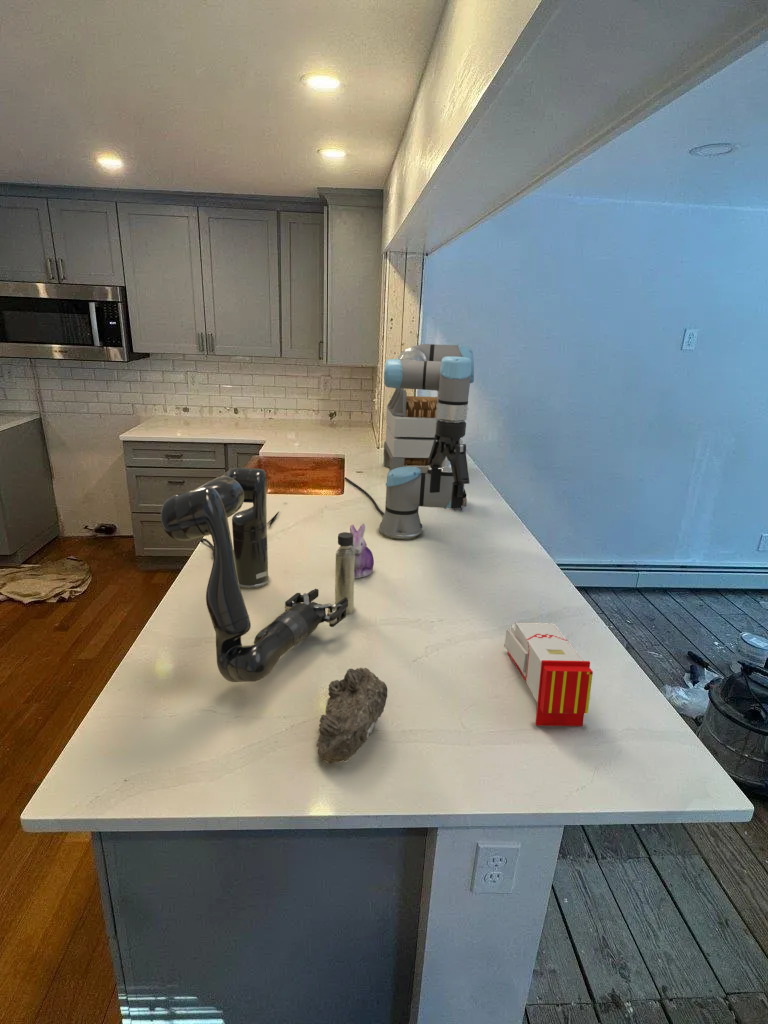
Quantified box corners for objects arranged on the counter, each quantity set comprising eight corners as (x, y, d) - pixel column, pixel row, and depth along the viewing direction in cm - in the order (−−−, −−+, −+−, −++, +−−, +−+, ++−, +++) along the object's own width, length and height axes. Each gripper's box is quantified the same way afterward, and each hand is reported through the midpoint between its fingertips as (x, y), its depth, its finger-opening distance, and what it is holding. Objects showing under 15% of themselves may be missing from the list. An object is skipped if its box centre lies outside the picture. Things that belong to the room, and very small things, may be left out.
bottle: (344, 603, 152) (346, 531, 145) (356, 610, 149) (359, 536, 141) (331, 609, 148) (331, 536, 141) (343, 616, 145) (344, 541, 138)
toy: (550, 607, 134) (601, 667, 105) (545, 659, 137) (594, 732, 108) (499, 606, 134) (537, 666, 104) (495, 659, 137) (530, 731, 107)
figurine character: (467, 515, 225) (461, 499, 238) (469, 498, 221) (463, 482, 235) (450, 514, 224) (445, 498, 238) (452, 497, 221) (447, 482, 234)
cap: (345, 539, 145) (346, 530, 144) (356, 543, 142) (356, 535, 141) (334, 543, 142) (334, 534, 141) (344, 547, 140) (345, 539, 139)
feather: (286, 506, 225) (288, 502, 225) (268, 529, 199) (271, 525, 198) (282, 503, 225) (284, 499, 225) (264, 526, 199) (267, 522, 198)
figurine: (352, 582, 163) (353, 533, 158) (338, 567, 172) (338, 521, 166) (381, 576, 167) (383, 529, 162) (366, 562, 176) (367, 517, 171)
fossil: (321, 669, 117) (379, 637, 112) (350, 699, 119) (408, 669, 114) (296, 756, 97) (365, 723, 92) (332, 790, 100) (400, 759, 95)
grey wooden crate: (382, 463, 289) (386, 382, 275) (445, 464, 293) (451, 384, 279) (390, 482, 257) (394, 392, 243) (460, 483, 261) (468, 394, 247)
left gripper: (319, 620, 123) (356, 590, 137) (267, 603, 129) (307, 576, 143) (319, 649, 126) (356, 617, 139) (268, 631, 132) (307, 602, 145)
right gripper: (488, 429, 133) (479, 514, 140) (444, 411, 156) (438, 485, 163) (460, 430, 131) (452, 516, 138) (419, 411, 153) (414, 486, 160)
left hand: (331, 596), depth 141 cm, fingers open, 8 cm apart
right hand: (444, 499), depth 150 cm, fingers open, 13 cm apart
